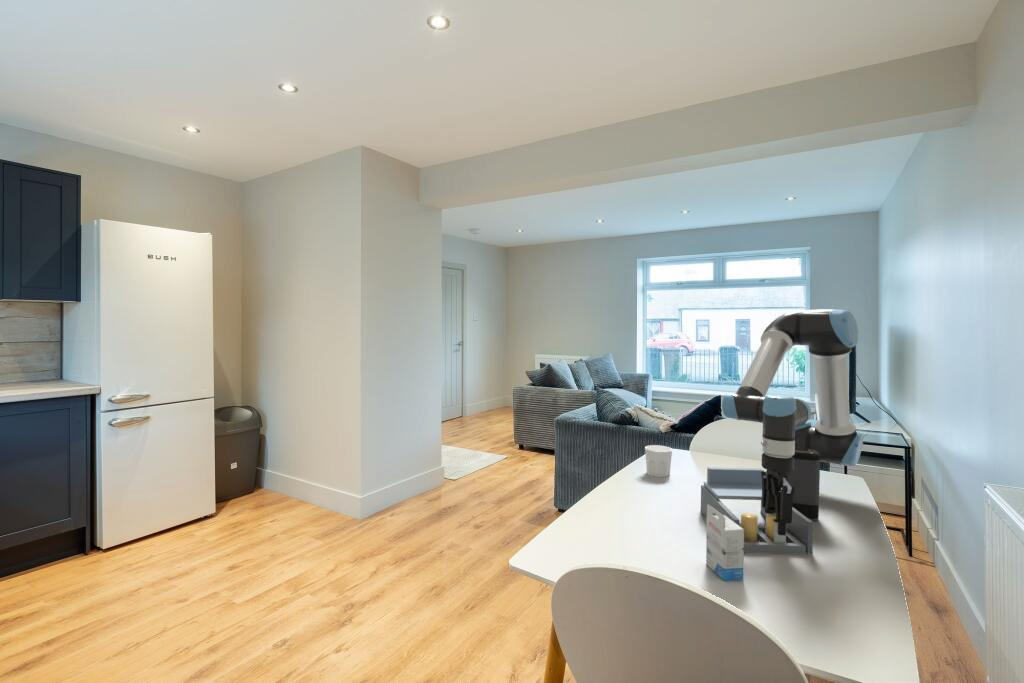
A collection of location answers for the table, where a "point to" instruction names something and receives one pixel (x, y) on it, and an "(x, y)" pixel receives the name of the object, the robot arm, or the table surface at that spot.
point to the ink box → (724, 546)
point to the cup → (658, 460)
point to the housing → (796, 532)
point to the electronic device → (806, 483)
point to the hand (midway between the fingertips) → (775, 541)
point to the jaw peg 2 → (770, 526)
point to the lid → (735, 483)
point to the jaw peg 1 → (749, 527)
